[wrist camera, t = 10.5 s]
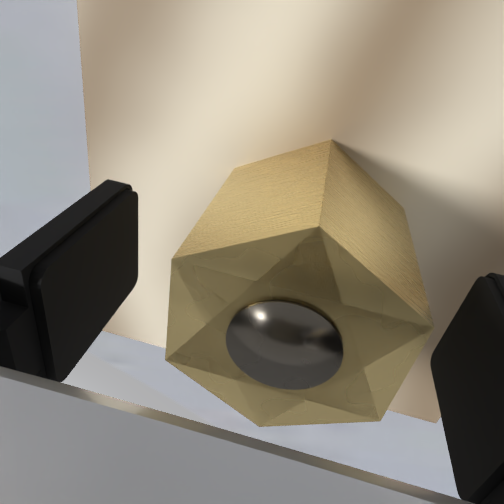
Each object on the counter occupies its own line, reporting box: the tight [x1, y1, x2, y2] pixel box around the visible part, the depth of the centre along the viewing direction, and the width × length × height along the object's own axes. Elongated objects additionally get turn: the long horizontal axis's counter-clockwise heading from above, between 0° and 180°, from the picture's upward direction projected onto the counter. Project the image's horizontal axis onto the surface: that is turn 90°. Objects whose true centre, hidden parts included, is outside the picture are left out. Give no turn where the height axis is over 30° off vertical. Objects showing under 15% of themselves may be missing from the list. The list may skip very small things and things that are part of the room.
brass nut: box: [165, 139, 434, 427], centre depth 10 cm, size 5×6×5 cm
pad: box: [77, 0, 504, 423], centre depth 13 cm, size 14×14×1 cm
